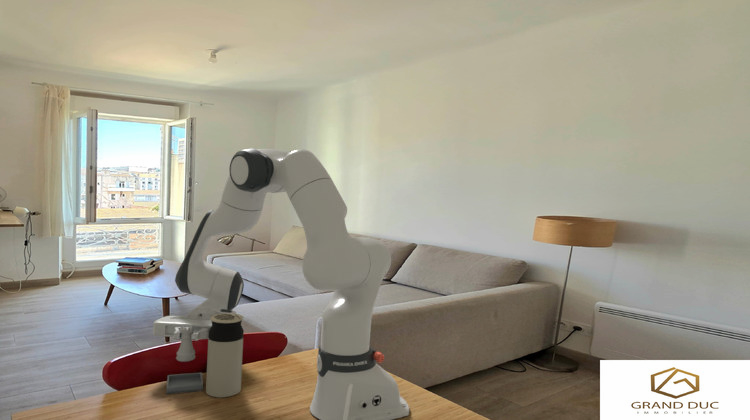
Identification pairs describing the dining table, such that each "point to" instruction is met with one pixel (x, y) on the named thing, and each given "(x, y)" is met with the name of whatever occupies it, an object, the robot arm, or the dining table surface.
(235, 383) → the travel mug
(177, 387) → the tray
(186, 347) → the rook chess piece
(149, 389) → the dining table surface
